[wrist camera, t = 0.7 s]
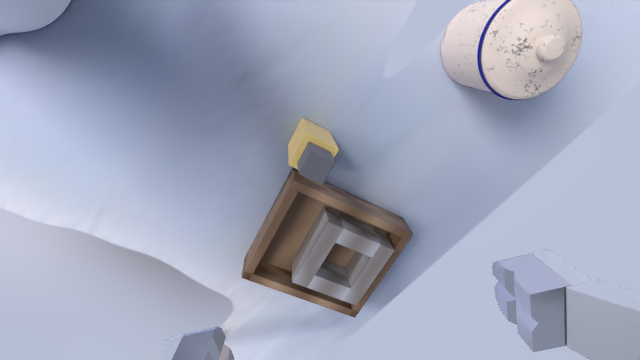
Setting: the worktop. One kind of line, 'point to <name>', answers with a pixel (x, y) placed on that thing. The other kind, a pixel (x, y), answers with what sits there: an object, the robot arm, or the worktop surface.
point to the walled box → (325, 245)
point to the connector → (312, 151)
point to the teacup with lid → (512, 46)
